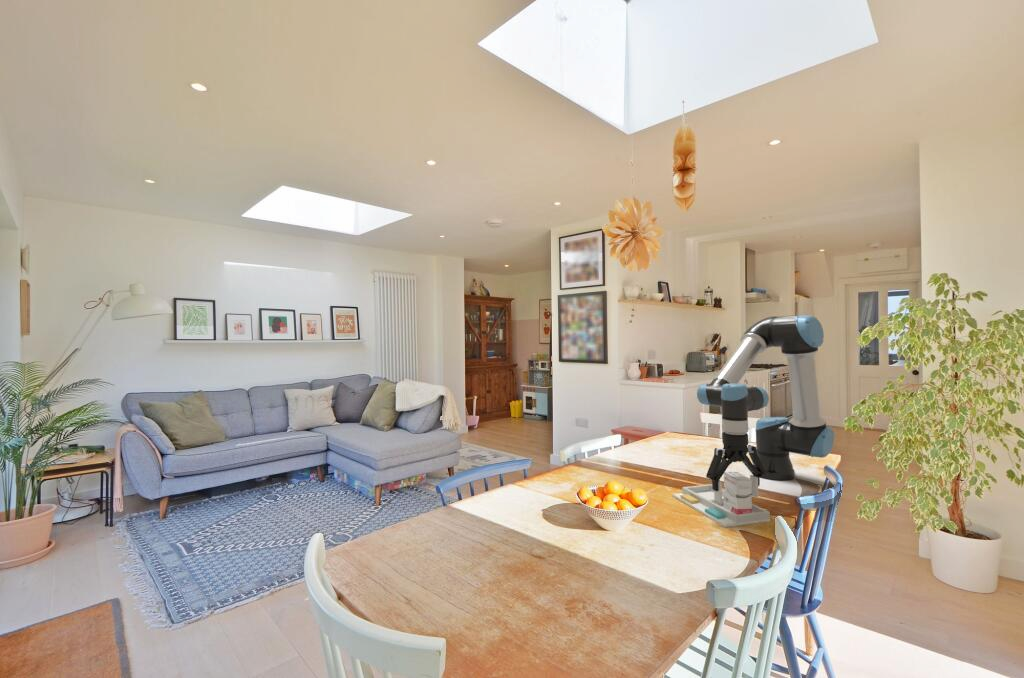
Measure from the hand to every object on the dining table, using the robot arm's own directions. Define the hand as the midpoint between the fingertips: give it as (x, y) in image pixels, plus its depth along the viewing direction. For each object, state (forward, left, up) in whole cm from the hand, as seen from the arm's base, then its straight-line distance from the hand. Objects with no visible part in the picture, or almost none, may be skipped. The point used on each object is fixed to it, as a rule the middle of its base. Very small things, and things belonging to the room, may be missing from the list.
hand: (736, 498), depth 148 cm
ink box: (0, 0, -5) cm, 5 cm away
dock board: (+2, -7, -5) cm, 9 cm away
